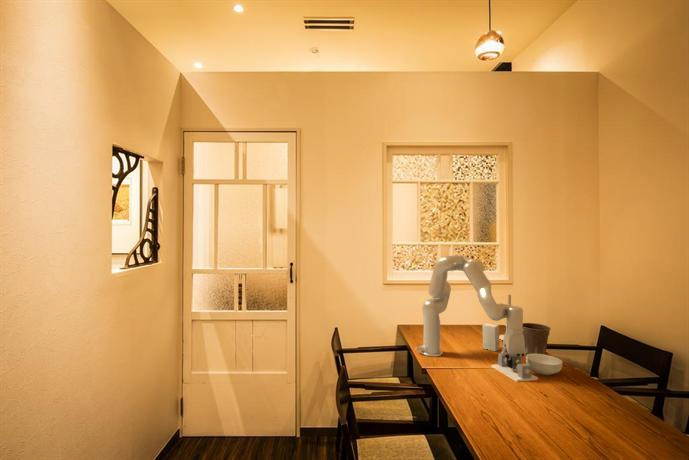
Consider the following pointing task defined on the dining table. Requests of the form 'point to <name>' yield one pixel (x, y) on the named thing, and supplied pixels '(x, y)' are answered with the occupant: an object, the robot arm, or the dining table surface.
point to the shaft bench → (518, 374)
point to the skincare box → (491, 337)
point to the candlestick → (506, 323)
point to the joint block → (515, 361)
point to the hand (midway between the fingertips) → (513, 366)
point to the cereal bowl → (544, 363)
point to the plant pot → (535, 338)
